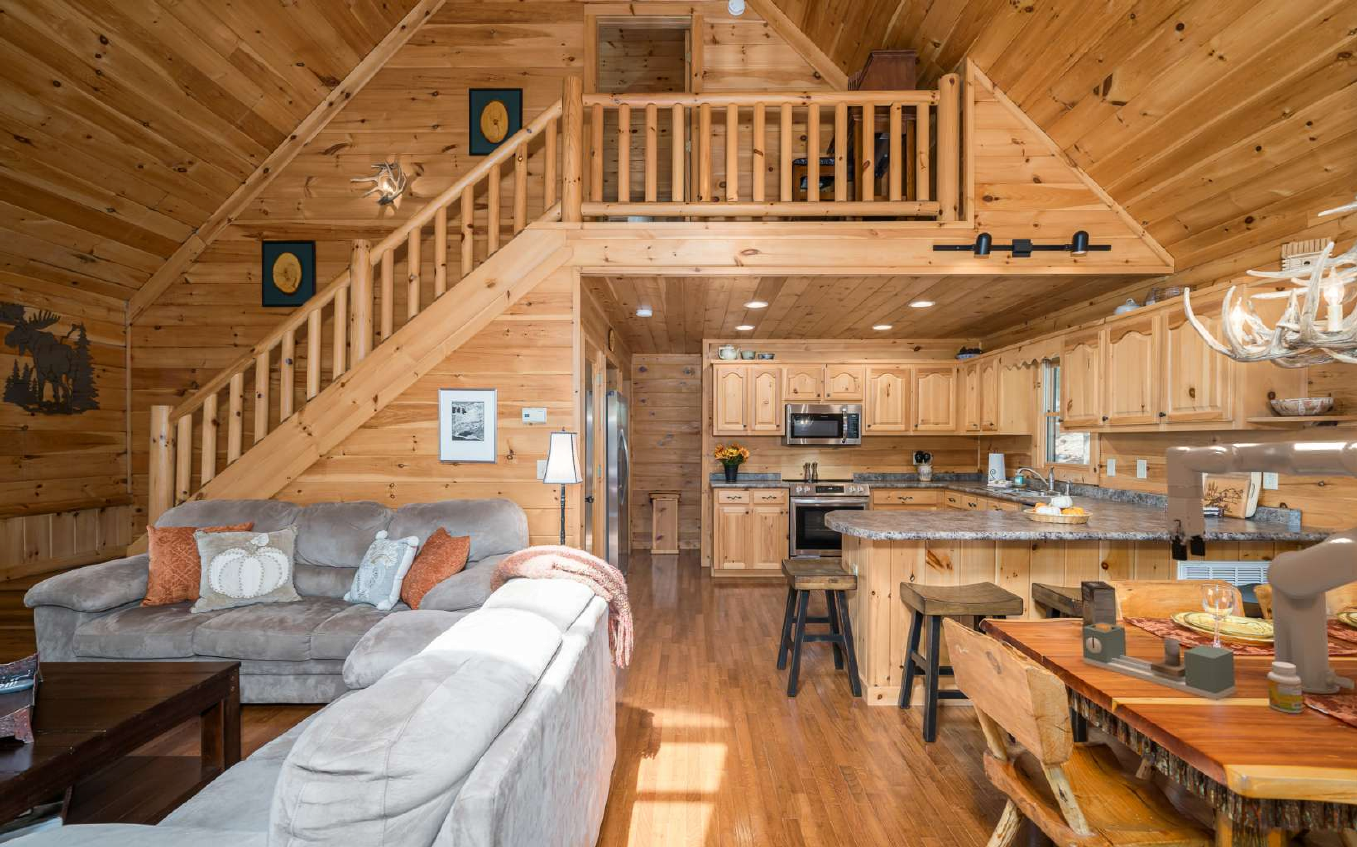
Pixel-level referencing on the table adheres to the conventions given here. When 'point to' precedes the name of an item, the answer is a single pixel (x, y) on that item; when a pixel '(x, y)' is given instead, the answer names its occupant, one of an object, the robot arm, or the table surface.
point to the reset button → (1103, 627)
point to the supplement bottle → (1285, 688)
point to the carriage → (1170, 659)
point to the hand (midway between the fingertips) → (1189, 557)
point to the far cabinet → (1103, 643)
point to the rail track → (1154, 675)
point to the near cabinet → (1209, 668)
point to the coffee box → (1098, 603)
